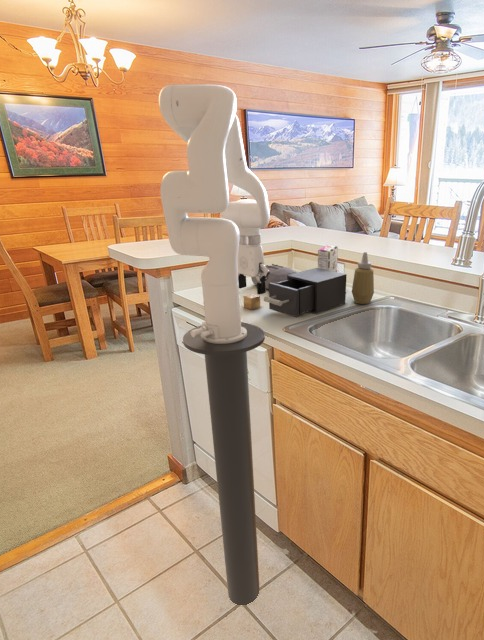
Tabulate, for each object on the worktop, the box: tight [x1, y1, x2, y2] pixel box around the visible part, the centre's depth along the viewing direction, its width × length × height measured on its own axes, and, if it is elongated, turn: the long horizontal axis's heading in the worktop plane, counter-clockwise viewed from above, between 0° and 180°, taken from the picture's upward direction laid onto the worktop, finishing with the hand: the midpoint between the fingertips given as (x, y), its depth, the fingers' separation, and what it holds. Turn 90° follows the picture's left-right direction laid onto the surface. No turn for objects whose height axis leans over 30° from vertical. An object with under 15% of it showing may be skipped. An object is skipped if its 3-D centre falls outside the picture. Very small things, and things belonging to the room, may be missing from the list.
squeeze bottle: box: [351, 251, 375, 305], centre depth 156 cm, size 8×8×18 cm
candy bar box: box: [317, 244, 339, 272], centre depth 171 cm, size 11×5×16 cm, turn 161°
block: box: [243, 293, 261, 311], centre depth 151 cm, size 4×4×4 cm
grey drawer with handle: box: [263, 279, 315, 318], centre depth 145 cm, size 20×13×9 cm, turn 139°
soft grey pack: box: [250, 263, 298, 290], centre depth 175 cm, size 15×8×20 cm
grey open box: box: [287, 267, 348, 315], centre depth 154 cm, size 16×14×11 cm
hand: (251, 290), depth 150 cm, fingers open, 9 cm apart
